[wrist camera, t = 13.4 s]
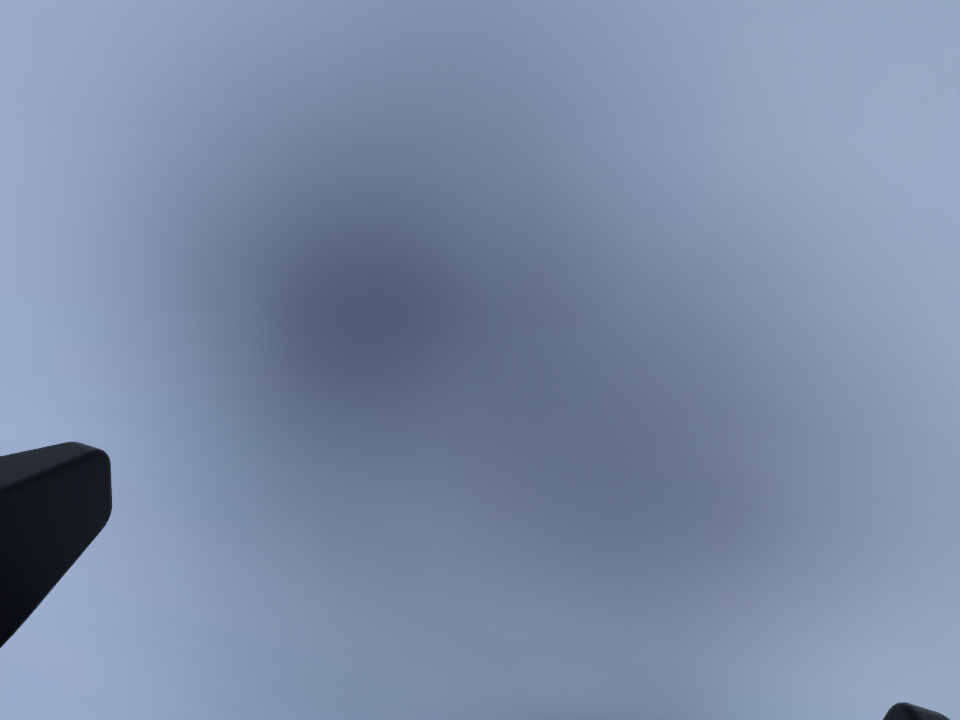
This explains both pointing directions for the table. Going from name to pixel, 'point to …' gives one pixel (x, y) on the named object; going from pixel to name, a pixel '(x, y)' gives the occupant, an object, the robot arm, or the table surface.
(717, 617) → the table surface
